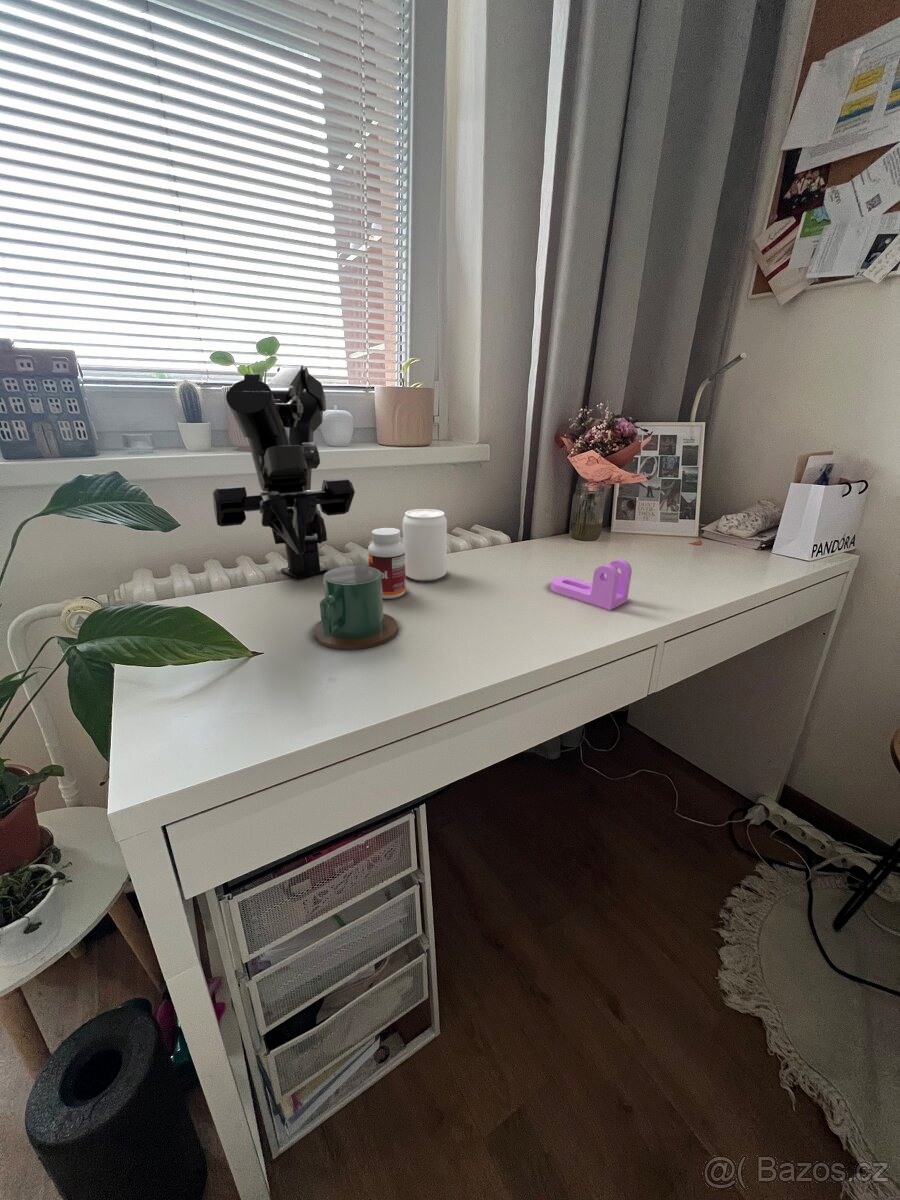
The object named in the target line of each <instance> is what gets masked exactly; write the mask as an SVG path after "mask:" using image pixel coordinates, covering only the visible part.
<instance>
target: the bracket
mask: <svg viewBox="0 0 900 1200" xmlns="http://www.w3.org/2000/svg"><path fill="white" fill-rule="evenodd" d="M619 570H620V572H619ZM632 573H633V569H632V566H631V563H629V561H627V559H626V560H625V559H622V558H618V559H616V560H613V561H611V562H609V563H608V564H607V563H606V564H603V565H600V566H598V567H597V568H595V570H594V572H593V577H592V582H589V581H587V580H583V579H580V578H576V577H572V576H556V577H553V578H551V580H550V590H551V591H552V592H554V593H556V594H559V595H562V596H566V597H569V598H571V599H574V600H578V601H579V602H580V601H581V602H584V603H587V604H590V605H593V606H596V607H599V608H602V609H606V610H607V611H608V610H609V611H611V610H613V609H615V608H617V607H620V606H622V605H624V604H625V603H627V602H628V600H629V593H630V592H629V591H630V585H631V580H632Z"/></svg>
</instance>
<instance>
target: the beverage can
mask: <svg viewBox="0 0 900 1200" xmlns="http://www.w3.org/2000/svg"><path fill="white" fill-rule="evenodd" d="M402 544H403V545H404V547H405V577H407V578H410V579H412V580H415V581H420V582H429V581H435V580H438V579H440V578H443V577H444V576H445V575H446V574H447V562H448V561H447V554H448V553H447V552H448V549H447V545H448V519H447V518H446V516H445V512H444V511H443V510H439V509H434V508H433V509H432V508H417V509H410V510H407V511H405V513H404V516H403V518H402Z"/></svg>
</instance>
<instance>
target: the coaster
mask: <svg viewBox="0 0 900 1200" xmlns="http://www.w3.org/2000/svg"><path fill="white" fill-rule="evenodd" d="M383 619H384V627H383V629H382V630H381V631H380V632H378V633H377V634H375V635H372V636H369V637H365V638H359V639H345V638H339V637H336V636H334V635H330V636H329V637H325V636H324V635H323V634H322V624H321V620H319V621H318V622H317V623H316V624H315V626H314V627H313V637H314V639H315V641H316V642H318V643H319V644H321V645H322V646H325V647H328V648H332V649H338V650H349V651H350V650H351V651H352V650H363V649H369V648H373V647H377V646H380V645H383V644H385V643H388V642H389V641H391V640H392V639H393V638H394V637H395V636H396V634H397V633H398V630H399V629H398V627H399V626H398V622H397V620H396V619H395V618H394V617H392V616H391V615H389V614H386V613H384V612H383Z"/></svg>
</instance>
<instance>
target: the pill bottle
mask: <svg viewBox="0 0 900 1200" xmlns="http://www.w3.org/2000/svg"><path fill="white" fill-rule="evenodd" d="M371 540H372V541H373V542H371V543H370V544H369V545H368V548H367V556H368V557H367V558H368V560H367V561H368V567H372V568H375V569H378V570H379V571H380V572H381V573H382V595H383V599H386V600H387V599H388V600H390V599H397V598H399V597H401V596H403V595H404V594H405V593H406V589H407V586H406V585H407V583H406V579H407V578H406V575H405V547H404V545H403V542H401V541H400V540H401V530H400V529H398V528H394V527H380V528H375V529H373V530H371Z"/></svg>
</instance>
